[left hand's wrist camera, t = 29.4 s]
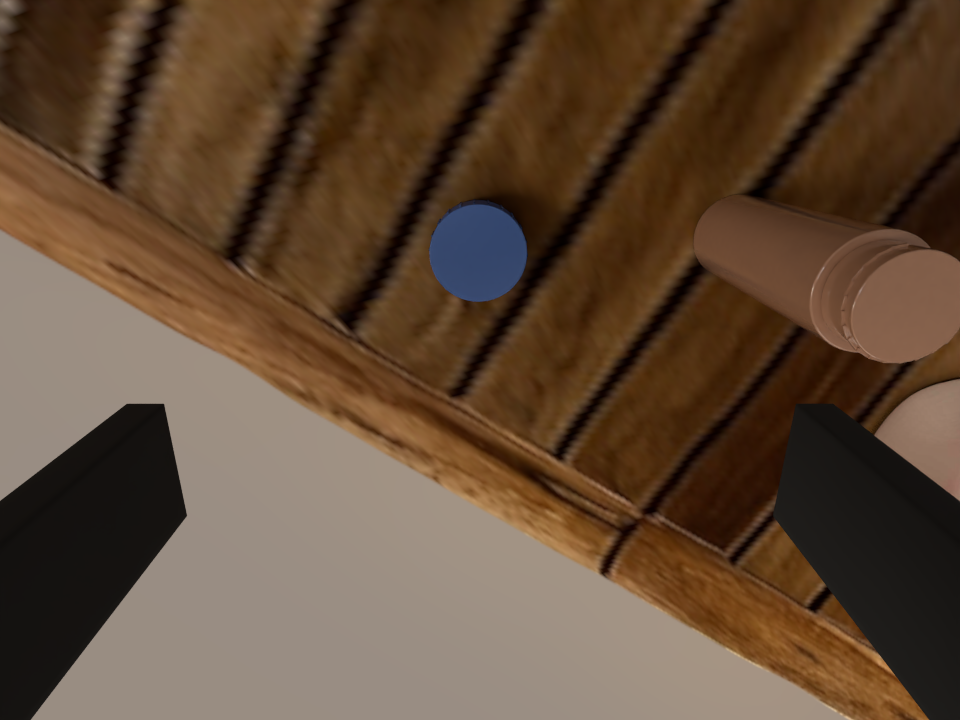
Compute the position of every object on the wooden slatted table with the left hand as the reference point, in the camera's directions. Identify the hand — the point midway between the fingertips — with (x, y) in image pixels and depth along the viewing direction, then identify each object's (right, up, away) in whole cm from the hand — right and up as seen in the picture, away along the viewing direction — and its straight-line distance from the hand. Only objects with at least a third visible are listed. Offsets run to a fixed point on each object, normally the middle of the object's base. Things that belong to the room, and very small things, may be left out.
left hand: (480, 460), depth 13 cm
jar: (+16, +10, +25) cm, 31 cm away
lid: (0, +9, +23) cm, 25 cm away
